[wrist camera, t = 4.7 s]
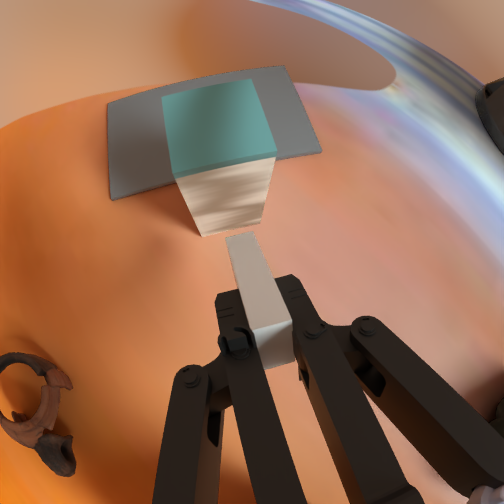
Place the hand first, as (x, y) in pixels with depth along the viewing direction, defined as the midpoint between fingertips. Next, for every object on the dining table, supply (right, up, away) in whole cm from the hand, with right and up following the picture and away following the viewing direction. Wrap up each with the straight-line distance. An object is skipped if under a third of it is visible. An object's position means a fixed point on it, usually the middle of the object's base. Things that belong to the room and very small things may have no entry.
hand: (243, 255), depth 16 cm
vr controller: (-19, -15, +5) cm, 25 cm away
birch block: (-2, +4, +9) cm, 10 cm away
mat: (-4, +13, +11) cm, 17 cm away
